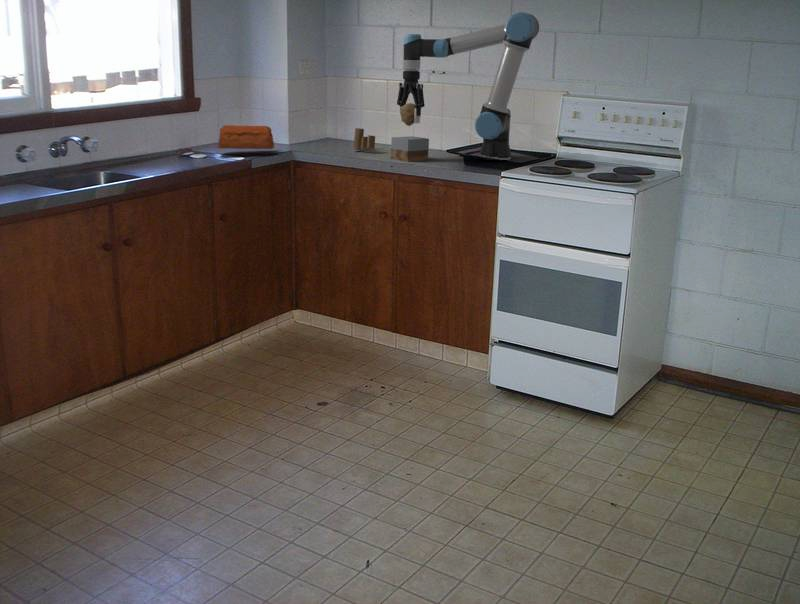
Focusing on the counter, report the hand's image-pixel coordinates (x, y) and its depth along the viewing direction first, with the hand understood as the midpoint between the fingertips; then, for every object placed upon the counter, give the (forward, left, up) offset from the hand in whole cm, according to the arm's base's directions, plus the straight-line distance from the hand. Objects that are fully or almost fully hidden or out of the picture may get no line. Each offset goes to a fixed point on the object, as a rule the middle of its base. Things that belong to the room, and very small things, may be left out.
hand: (410, 122), depth 394 cm
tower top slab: (0, 0, -12) cm, 12 cm away
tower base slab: (0, 0, -17) cm, 17 cm away
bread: (+76, +40, -17) cm, 88 cm away
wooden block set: (+39, -4, -17) cm, 43 cm away
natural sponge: (0, 0, -2) cm, 2 cm away
